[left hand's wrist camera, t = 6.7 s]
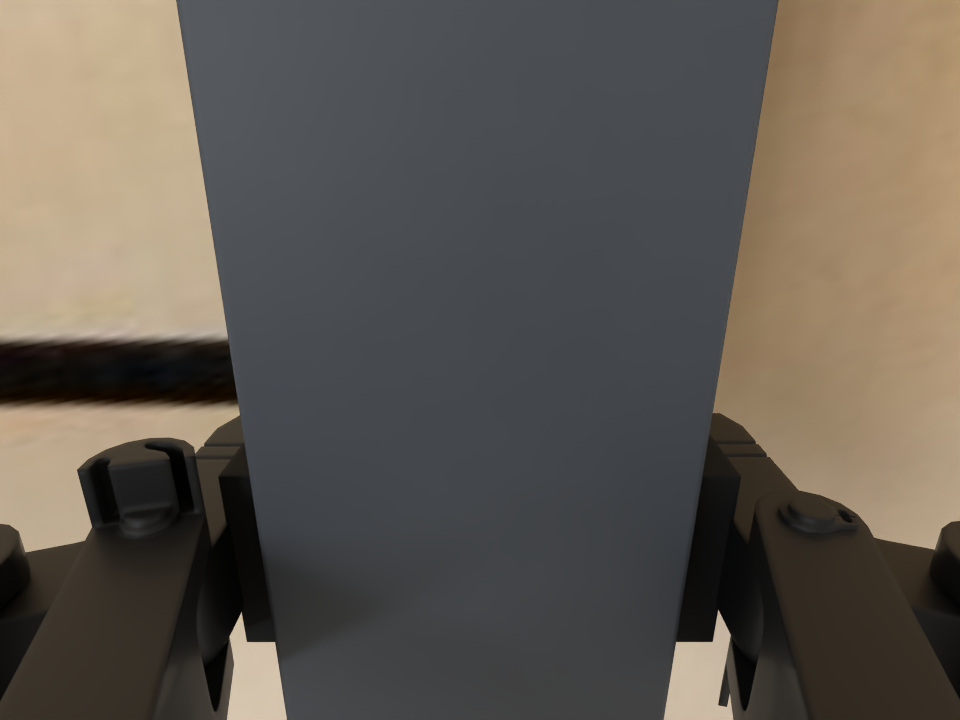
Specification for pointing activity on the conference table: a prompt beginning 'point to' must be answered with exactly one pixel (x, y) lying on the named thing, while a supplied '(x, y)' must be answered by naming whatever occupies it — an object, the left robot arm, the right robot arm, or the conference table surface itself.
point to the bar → (476, 332)
